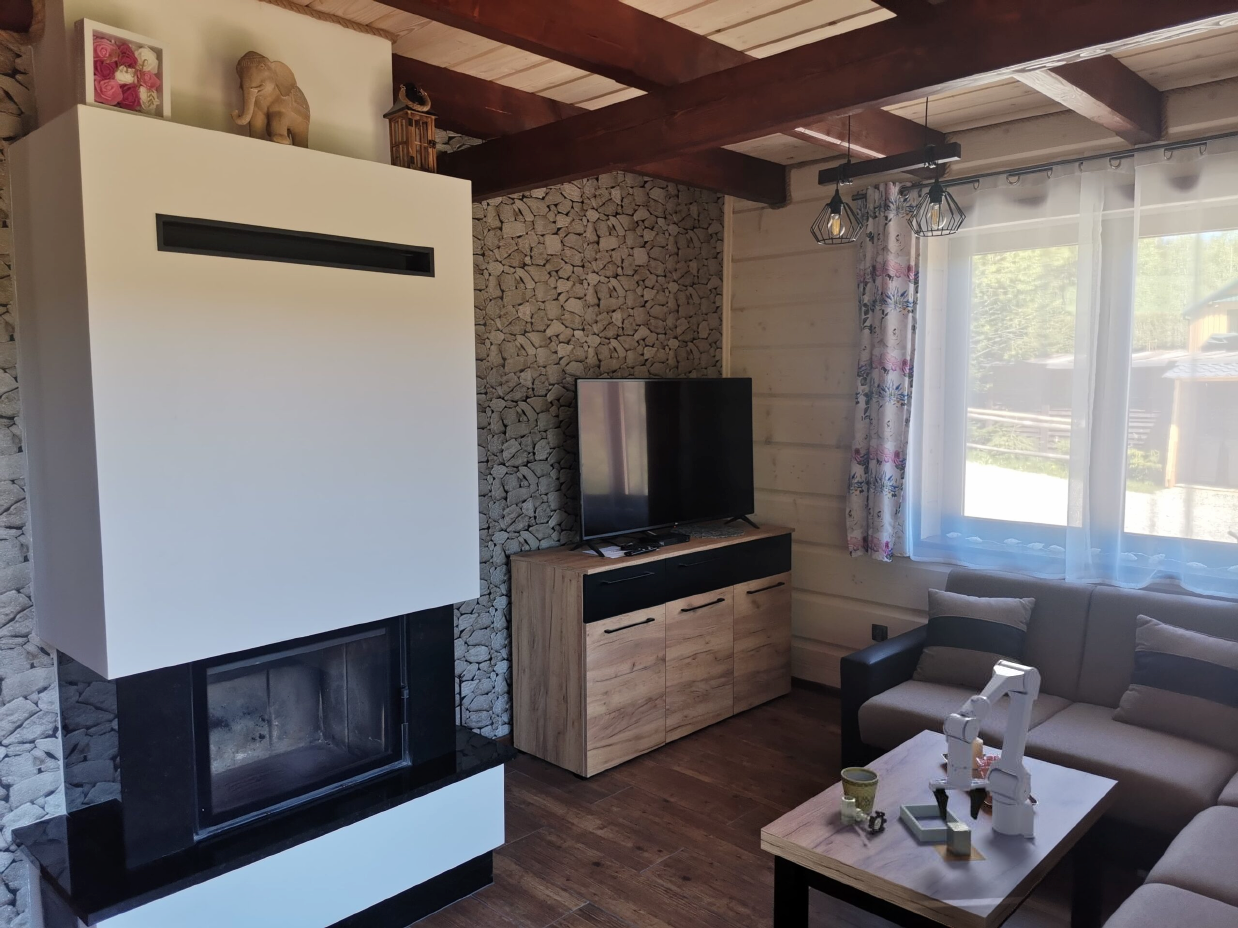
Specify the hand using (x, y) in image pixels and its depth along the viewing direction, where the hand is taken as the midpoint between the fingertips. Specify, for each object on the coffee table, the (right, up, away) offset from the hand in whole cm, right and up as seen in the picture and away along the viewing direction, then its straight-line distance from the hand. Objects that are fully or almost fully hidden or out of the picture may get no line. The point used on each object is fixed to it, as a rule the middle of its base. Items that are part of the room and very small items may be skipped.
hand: (958, 817), depth 214 cm
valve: (-20, -9, +16) cm, 27 cm away
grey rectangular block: (0, -9, 0) cm, 9 cm away
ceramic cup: (-16, -8, +27) cm, 33 cm away
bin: (-2, -9, +13) cm, 16 cm away
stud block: (0, -10, 0) cm, 10 cm away
